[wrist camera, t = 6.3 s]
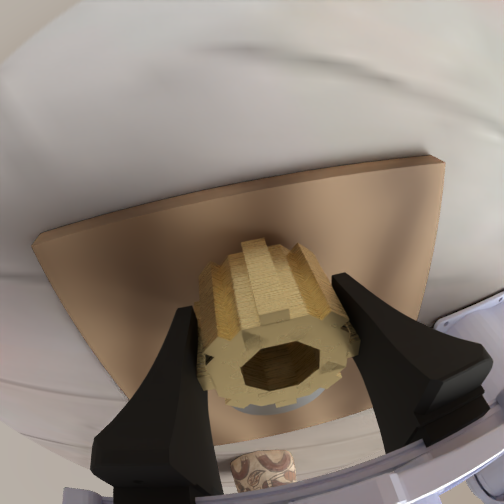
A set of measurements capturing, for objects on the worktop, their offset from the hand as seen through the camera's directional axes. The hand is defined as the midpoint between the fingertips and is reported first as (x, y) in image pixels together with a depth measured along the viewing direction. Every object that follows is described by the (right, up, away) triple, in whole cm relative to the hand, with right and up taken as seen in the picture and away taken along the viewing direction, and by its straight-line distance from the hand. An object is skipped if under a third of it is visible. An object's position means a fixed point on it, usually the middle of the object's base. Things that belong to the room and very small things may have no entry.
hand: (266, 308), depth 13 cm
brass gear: (0, 0, +1) cm, 1 cm away
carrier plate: (0, -4, +7) cm, 8 cm away
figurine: (+1, -22, +18) cm, 28 cm away
